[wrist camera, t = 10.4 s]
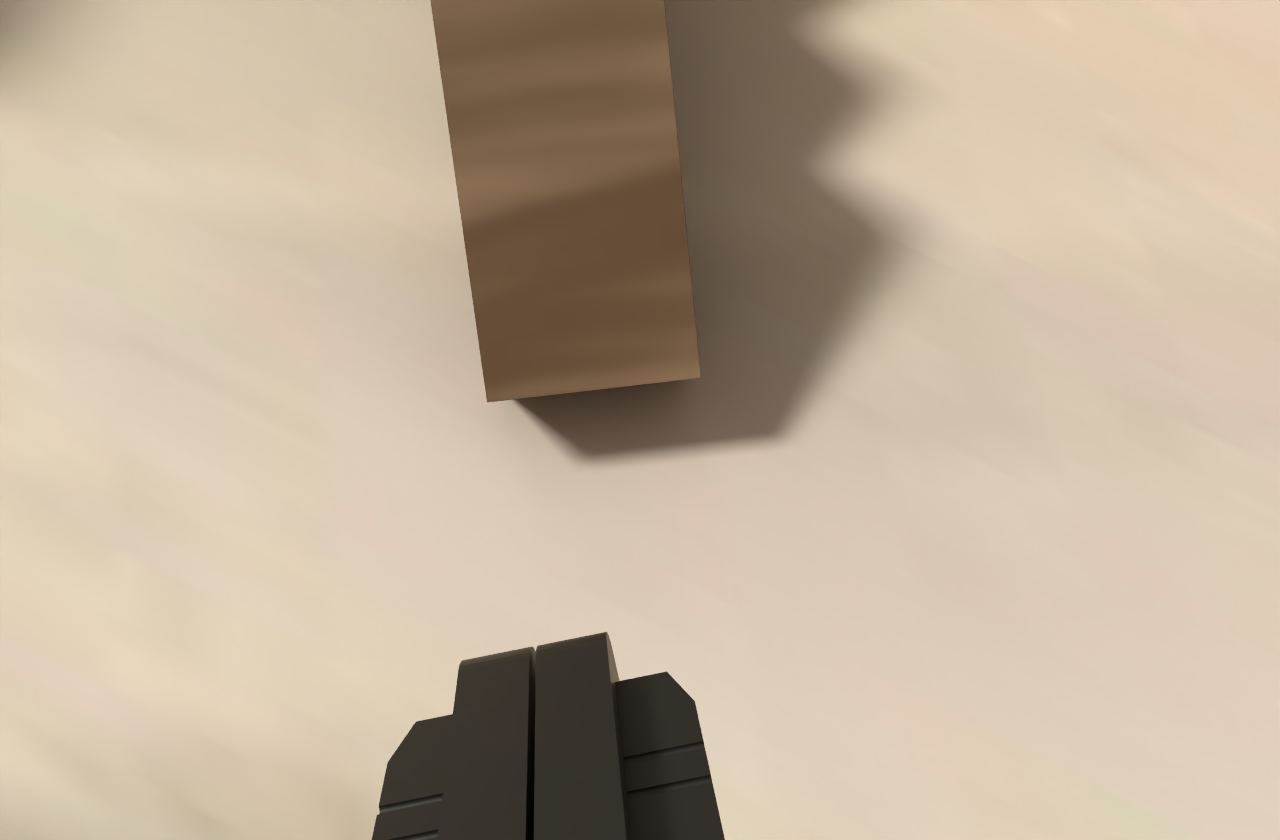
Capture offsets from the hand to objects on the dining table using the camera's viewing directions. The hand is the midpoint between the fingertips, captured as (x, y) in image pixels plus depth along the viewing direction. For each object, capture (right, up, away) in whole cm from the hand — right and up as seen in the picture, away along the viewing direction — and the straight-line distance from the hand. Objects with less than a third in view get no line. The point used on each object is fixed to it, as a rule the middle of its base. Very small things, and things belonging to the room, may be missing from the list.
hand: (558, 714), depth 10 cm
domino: (0, +4, +14) cm, 15 cm away
